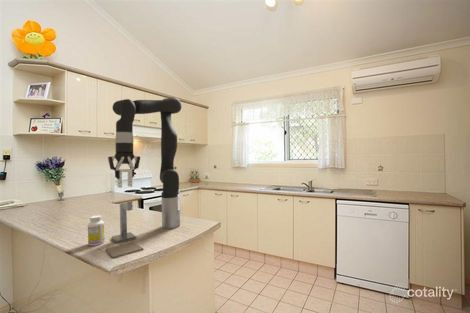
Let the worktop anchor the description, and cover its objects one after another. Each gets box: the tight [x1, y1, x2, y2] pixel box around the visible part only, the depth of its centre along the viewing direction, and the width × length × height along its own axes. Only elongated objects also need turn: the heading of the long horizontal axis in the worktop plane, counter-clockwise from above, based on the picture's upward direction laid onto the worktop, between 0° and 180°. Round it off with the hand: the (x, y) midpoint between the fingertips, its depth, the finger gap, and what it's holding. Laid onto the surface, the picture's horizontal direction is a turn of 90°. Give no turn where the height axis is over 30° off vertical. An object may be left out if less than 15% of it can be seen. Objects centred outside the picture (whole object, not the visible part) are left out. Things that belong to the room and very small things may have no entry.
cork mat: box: [105, 240, 144, 259], centre depth 99 cm, size 12×12×1 cm
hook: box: [116, 168, 133, 189], centre depth 106 cm, size 5×4×8 cm
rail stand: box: [110, 200, 137, 244], centre depth 111 cm, size 9×16×20 cm, turn 42°
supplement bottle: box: [87, 214, 105, 247], centre depth 108 cm, size 7×7×13 cm
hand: (124, 178), depth 106 cm, fingers closed on hook, 5 cm apart
